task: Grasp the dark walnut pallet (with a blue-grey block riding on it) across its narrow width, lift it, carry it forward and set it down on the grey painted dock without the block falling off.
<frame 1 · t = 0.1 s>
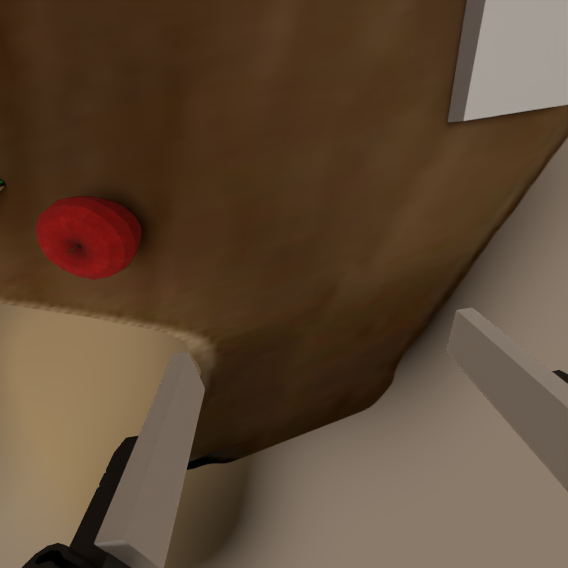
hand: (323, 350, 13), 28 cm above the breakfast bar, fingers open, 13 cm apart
apple: (119, 222, 36), on the breakfast bar
dock: (521, 30, 29), on the breakfast bar
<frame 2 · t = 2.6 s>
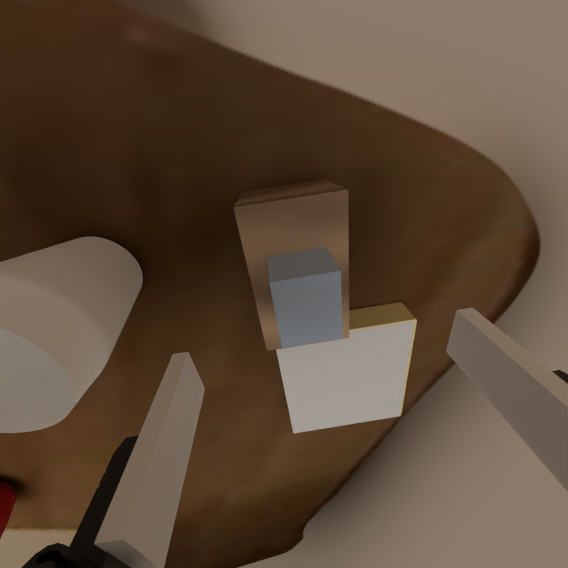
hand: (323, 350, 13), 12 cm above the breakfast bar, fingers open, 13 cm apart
blue-grey block: (300, 283, 18), point 6 cm above the breakfast bar, touching pallet
cup: (105, 270, 23), on the breakfast bar
pallet: (291, 251, 23), on the breakfast bar, touching blue-grey block
dock: (338, 364, 31), on the breakfast bar
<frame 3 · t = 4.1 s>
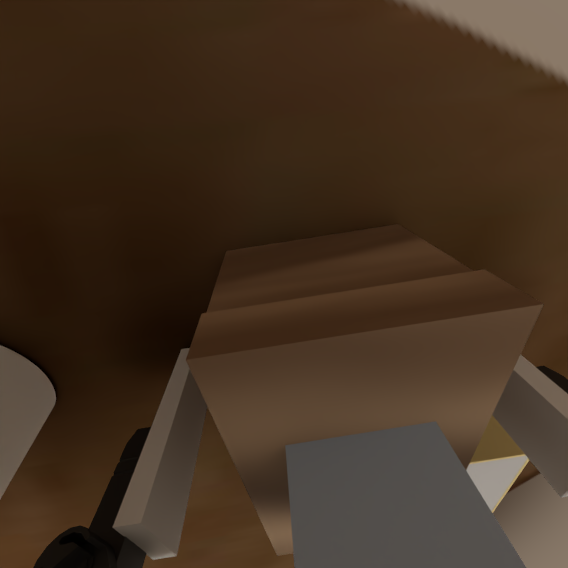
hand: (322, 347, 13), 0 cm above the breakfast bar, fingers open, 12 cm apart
blue-grey block: (359, 478, 8), point 6 cm above the breakfast bar, touching pallet
pallet: (320, 343, 13), on the breakfast bar, touching blue-grey block
dock: (380, 478, 21), on the breakfast bar
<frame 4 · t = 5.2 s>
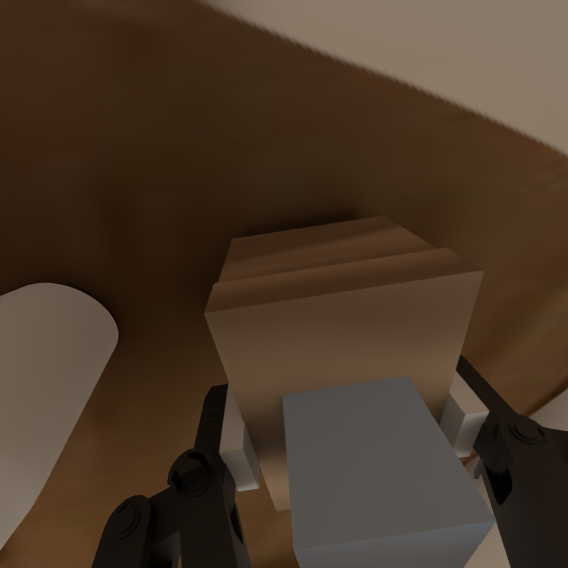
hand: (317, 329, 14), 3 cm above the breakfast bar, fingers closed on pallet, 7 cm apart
blue-grey block: (346, 430, 9), point 9 cm above the breakfast bar, touching pallet
cup: (69, 322, 17), on the breakfast bar
pallet: (316, 325, 14), point 3 cm above the breakfast bar, touching blue-grey block, gripper
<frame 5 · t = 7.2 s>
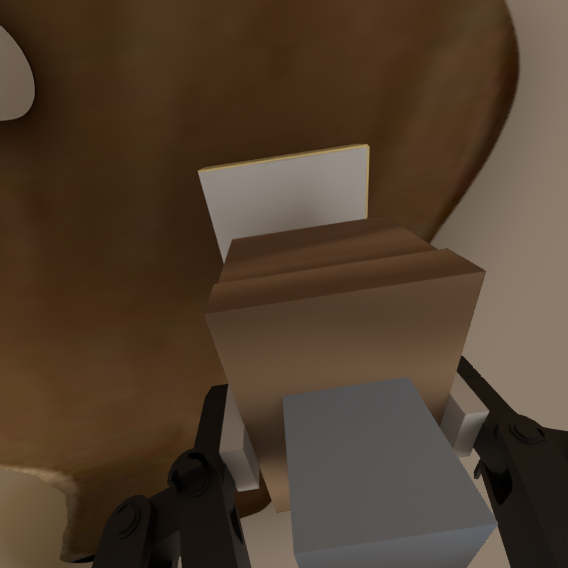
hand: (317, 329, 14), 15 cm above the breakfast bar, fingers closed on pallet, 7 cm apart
blue-grey block: (346, 431, 9), point 21 cm above the breakfast bar, touching pallet
pallet: (316, 326, 14), point 15 cm above the breakfast bar, touching blue-grey block, gripper
dock: (290, 239, 27), on the breakfast bar
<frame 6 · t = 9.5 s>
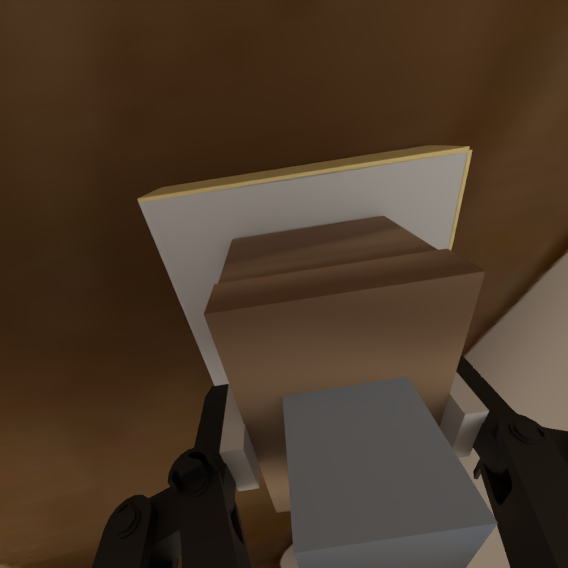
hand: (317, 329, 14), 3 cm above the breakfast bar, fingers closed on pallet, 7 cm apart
blue-grey block: (346, 431, 9), point 9 cm above the breakfast bar, touching pallet
pallet: (316, 326, 14), point 3 cm above the breakfast bar, touching blue-grey block, gripper
dock: (308, 296, 17), on the breakfast bar
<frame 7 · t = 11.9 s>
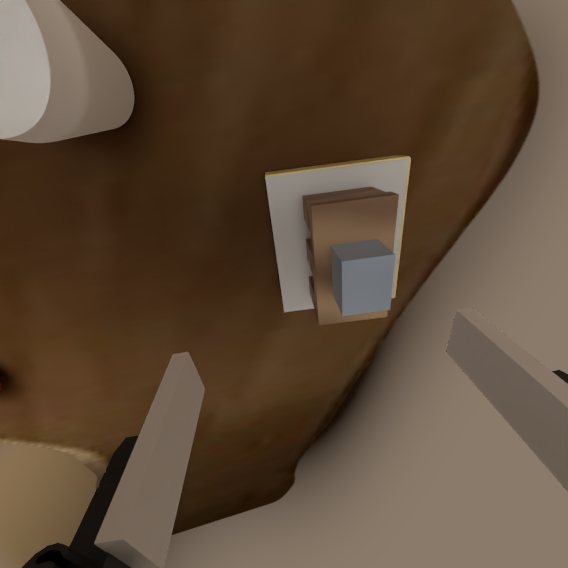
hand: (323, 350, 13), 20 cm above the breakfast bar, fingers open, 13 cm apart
blue-grey block: (353, 268, 23), point 9 cm above the breakfast bar, touching pallet
cup: (97, 87, 23), on the breakfast bar
pallet: (337, 245, 28), point 3 cm above the breakfast bar, touching blue-grey block, dock
dock: (332, 237, 31), on the breakfast bar
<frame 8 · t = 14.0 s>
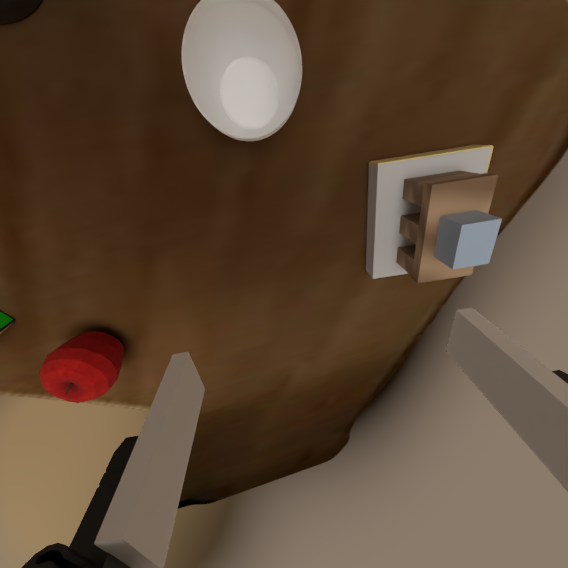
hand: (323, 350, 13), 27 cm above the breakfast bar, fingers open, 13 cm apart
blue-grey block: (454, 234, 29), point 9 cm above the breakfast bar, touching pallet
cup: (250, 95, 29), on the breakfast bar
pallet: (425, 220, 35), point 3 cm above the breakfast bar, touching blue-grey block, dock
apple: (106, 339, 45), on the breakfast bar
dock: (414, 214, 37), on the breakfast bar
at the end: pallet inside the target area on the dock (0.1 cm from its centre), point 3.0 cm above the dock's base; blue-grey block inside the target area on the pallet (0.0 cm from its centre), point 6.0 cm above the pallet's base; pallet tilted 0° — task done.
